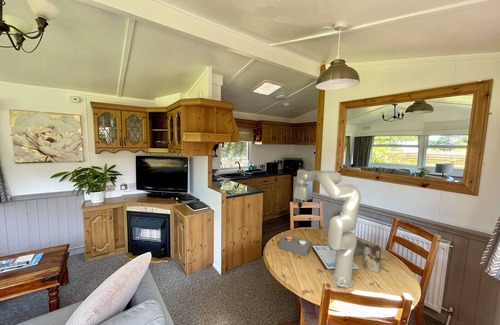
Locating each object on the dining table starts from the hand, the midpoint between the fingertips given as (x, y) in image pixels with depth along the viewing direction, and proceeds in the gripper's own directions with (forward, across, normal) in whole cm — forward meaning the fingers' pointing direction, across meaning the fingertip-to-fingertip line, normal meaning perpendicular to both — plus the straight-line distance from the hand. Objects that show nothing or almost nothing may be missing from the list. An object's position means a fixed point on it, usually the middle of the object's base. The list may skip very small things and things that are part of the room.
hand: (299, 207), depth 167 cm
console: (+32, 0, +6) cm, 33 cm away
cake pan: (+33, -37, -20) cm, 53 cm away
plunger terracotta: (+30, +6, +6) cm, 31 cm away
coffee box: (+32, -52, +3) cm, 61 cm away
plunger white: (+31, -5, +6) cm, 32 cm away
